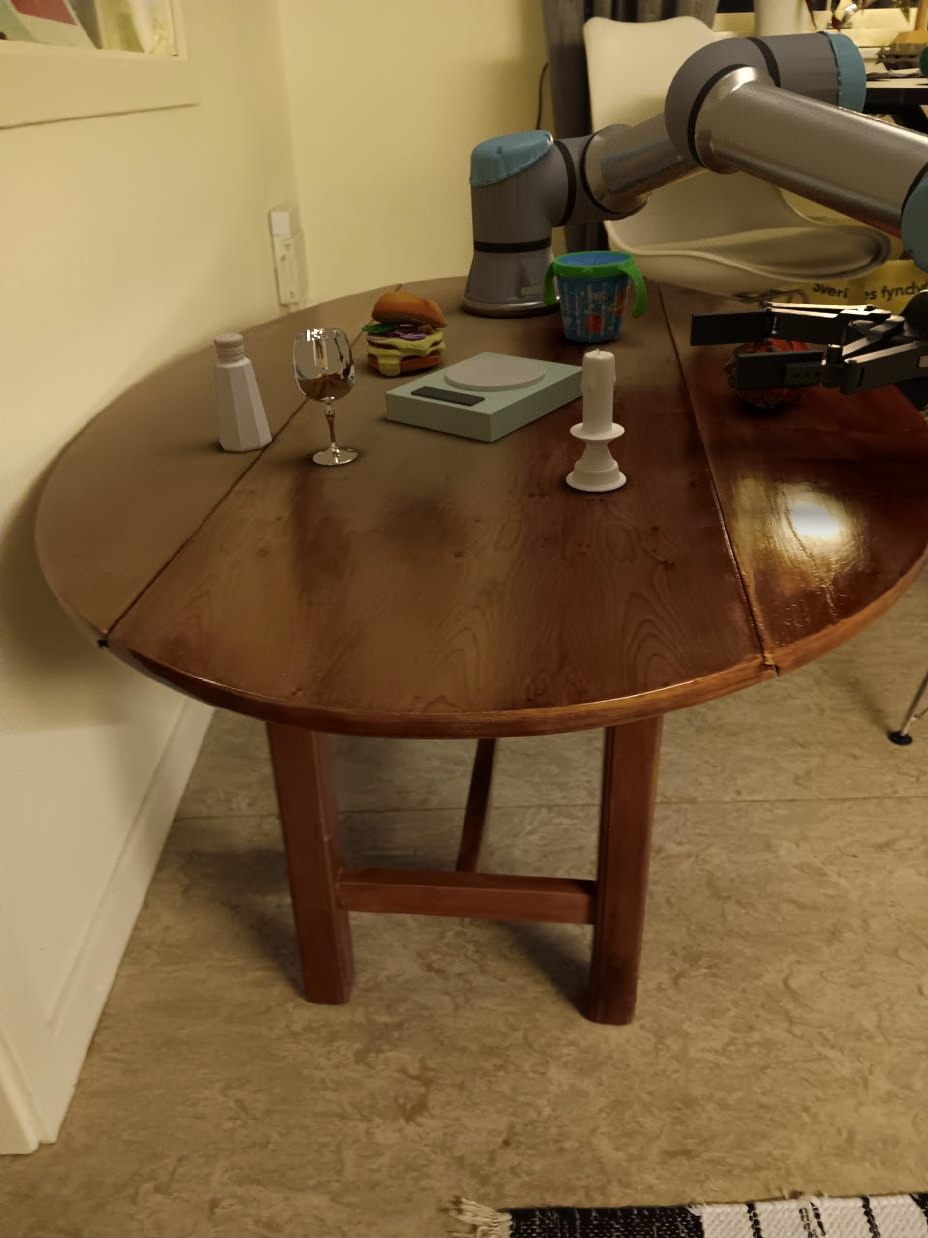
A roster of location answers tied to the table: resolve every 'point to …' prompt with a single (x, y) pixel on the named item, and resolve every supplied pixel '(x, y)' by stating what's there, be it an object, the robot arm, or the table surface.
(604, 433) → the candle
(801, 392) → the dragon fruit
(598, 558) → the table surface
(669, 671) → the table surface
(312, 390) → the wineglass
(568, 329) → the snack cup
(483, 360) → the kitchen scale
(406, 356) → the cheeseburger
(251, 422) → the pepper shaker
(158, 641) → the table surface
